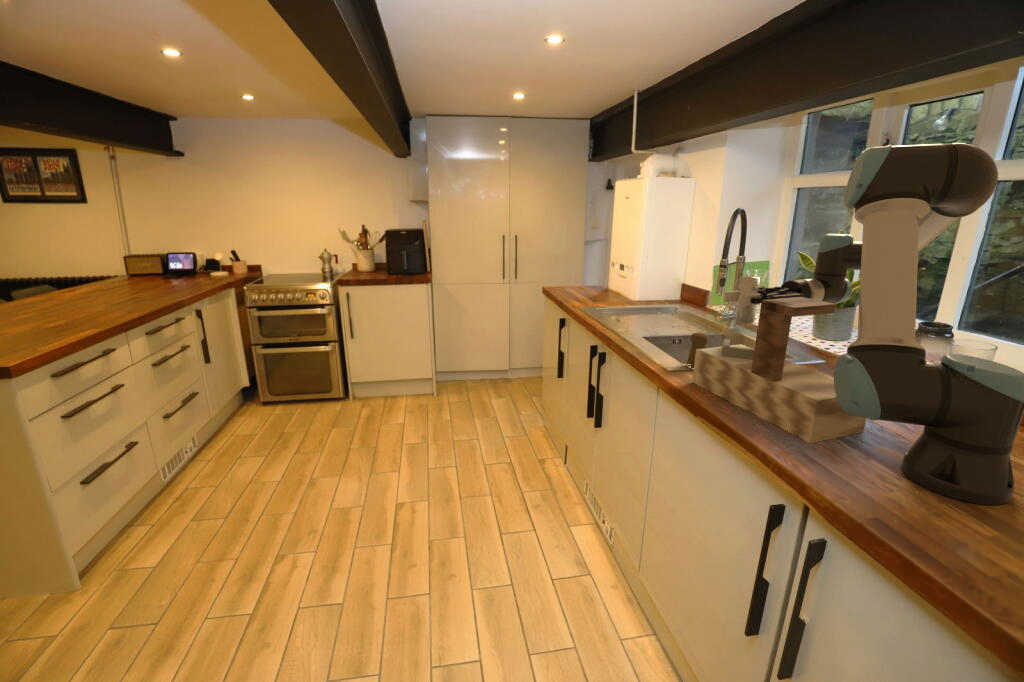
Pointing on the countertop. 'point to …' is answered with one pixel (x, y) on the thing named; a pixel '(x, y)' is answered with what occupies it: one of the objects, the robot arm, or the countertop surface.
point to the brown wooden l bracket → (780, 332)
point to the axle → (747, 287)
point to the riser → (781, 397)
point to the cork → (696, 346)
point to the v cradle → (731, 353)
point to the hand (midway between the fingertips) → (731, 298)
